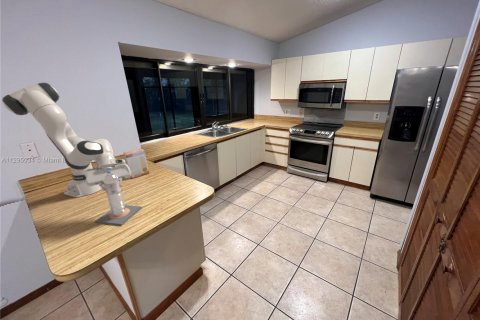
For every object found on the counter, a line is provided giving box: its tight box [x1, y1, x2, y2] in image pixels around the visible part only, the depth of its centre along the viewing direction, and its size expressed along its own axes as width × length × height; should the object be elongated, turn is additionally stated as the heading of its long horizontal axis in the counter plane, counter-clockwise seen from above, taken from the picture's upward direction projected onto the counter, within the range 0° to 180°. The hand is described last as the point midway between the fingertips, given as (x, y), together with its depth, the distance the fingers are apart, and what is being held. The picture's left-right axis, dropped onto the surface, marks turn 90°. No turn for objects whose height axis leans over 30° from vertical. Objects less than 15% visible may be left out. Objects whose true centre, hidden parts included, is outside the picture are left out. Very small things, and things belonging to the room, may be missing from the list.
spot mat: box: [94, 204, 143, 226], centre depth 109 cm, size 16×16×1 cm
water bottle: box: [103, 171, 126, 216], centre depth 104 cm, size 7×7×25 cm
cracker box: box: [123, 148, 150, 180], centre depth 158 cm, size 14×6×21 cm, turn 135°
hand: (112, 188), depth 103 cm, fingers closed on water bottle, 5 cm apart
